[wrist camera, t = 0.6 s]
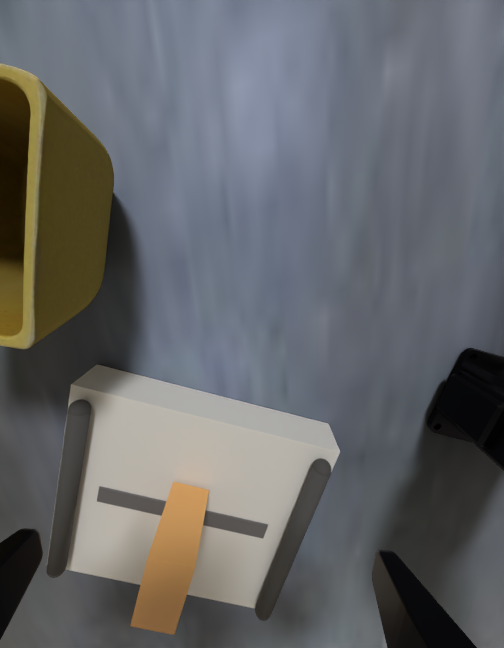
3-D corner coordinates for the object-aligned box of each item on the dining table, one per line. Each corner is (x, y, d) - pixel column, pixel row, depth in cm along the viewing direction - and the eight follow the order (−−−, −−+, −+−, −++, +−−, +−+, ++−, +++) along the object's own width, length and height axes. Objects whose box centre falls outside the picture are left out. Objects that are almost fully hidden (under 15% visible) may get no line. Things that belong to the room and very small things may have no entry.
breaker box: (328, 423, 21) (340, 452, 18) (269, 569, 25) (271, 613, 22) (97, 364, 20) (70, 385, 17) (71, 526, 24) (45, 566, 21)
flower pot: (130, 305, 19) (28, 355, 10) (-6, 273, 19) (-231, 297, 10) (150, 161, 17) (43, 73, 8) (-4, 119, 16) (-291, -21, 8)
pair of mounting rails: (331, 456, 19) (336, 470, 17) (268, 606, 22) (269, 626, 21) (76, 393, 18) (64, 403, 16) (53, 561, 21) (41, 580, 20)
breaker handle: (209, 489, 19) (195, 568, 14) (192, 546, 20) (174, 634, 16) (173, 481, 19) (147, 558, 14) (158, 538, 20) (130, 626, 16)
